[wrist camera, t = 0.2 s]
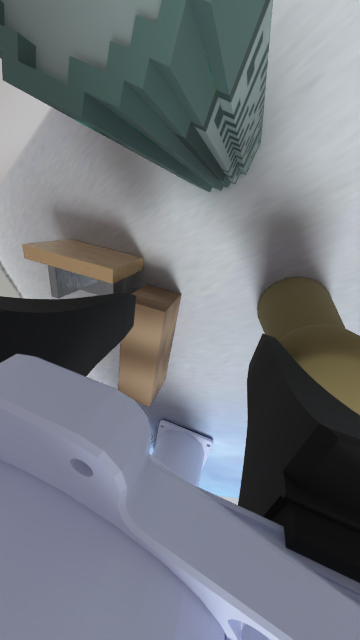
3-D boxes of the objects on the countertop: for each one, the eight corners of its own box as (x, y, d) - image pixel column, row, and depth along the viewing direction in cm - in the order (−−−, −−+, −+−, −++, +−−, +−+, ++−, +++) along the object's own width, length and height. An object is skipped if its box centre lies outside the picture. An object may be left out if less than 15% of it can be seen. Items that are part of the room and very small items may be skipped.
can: (197, 71, 15) (-247, -1074, 2) (277, 106, 14) (538, -1112, 1) (166, 171, 18) (-71, 44, 5) (232, 202, 17) (166, 157, 4)
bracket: (139, 304, 24) (111, 325, 19) (72, 283, 26) (32, 298, 21) (144, 258, 21) (112, 269, 17) (69, 238, 23) (22, 244, 18)
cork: (243, 313, 21) (235, 392, 11) (291, 262, 18) (335, 310, 8) (293, 350, 21) (327, 460, 11) (350, 305, 18) (462, 403, 8)
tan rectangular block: (165, 377, 28) (149, 407, 24) (138, 367, 29) (117, 394, 24) (181, 293, 22) (164, 312, 18) (147, 283, 23) (122, 299, 19)
